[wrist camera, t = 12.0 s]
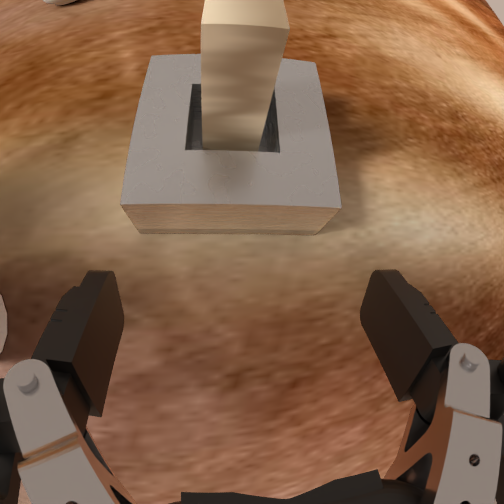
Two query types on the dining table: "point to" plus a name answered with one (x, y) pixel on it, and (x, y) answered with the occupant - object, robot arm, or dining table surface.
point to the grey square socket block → (229, 159)
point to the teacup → (58, 1)
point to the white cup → (2, 324)
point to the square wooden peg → (239, 69)
